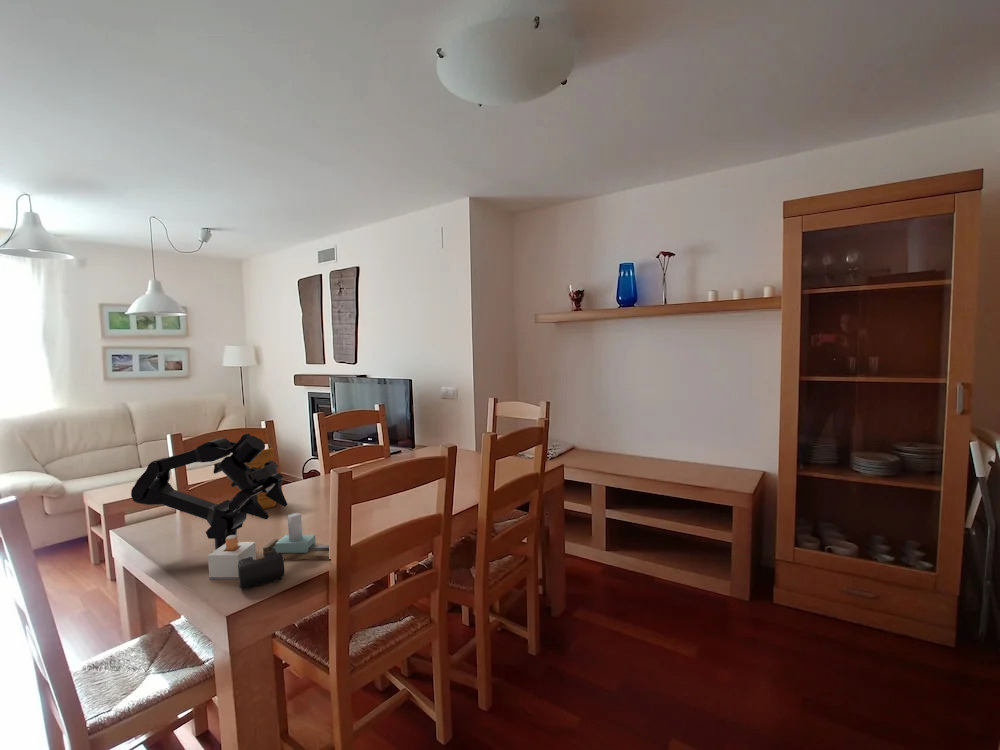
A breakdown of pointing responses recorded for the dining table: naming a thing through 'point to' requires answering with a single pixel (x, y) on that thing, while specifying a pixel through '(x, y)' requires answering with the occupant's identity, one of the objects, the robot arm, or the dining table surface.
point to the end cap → (260, 570)
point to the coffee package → (259, 463)
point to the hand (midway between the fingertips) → (277, 511)
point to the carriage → (295, 537)
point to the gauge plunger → (231, 543)
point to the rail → (313, 553)
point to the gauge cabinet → (229, 561)
